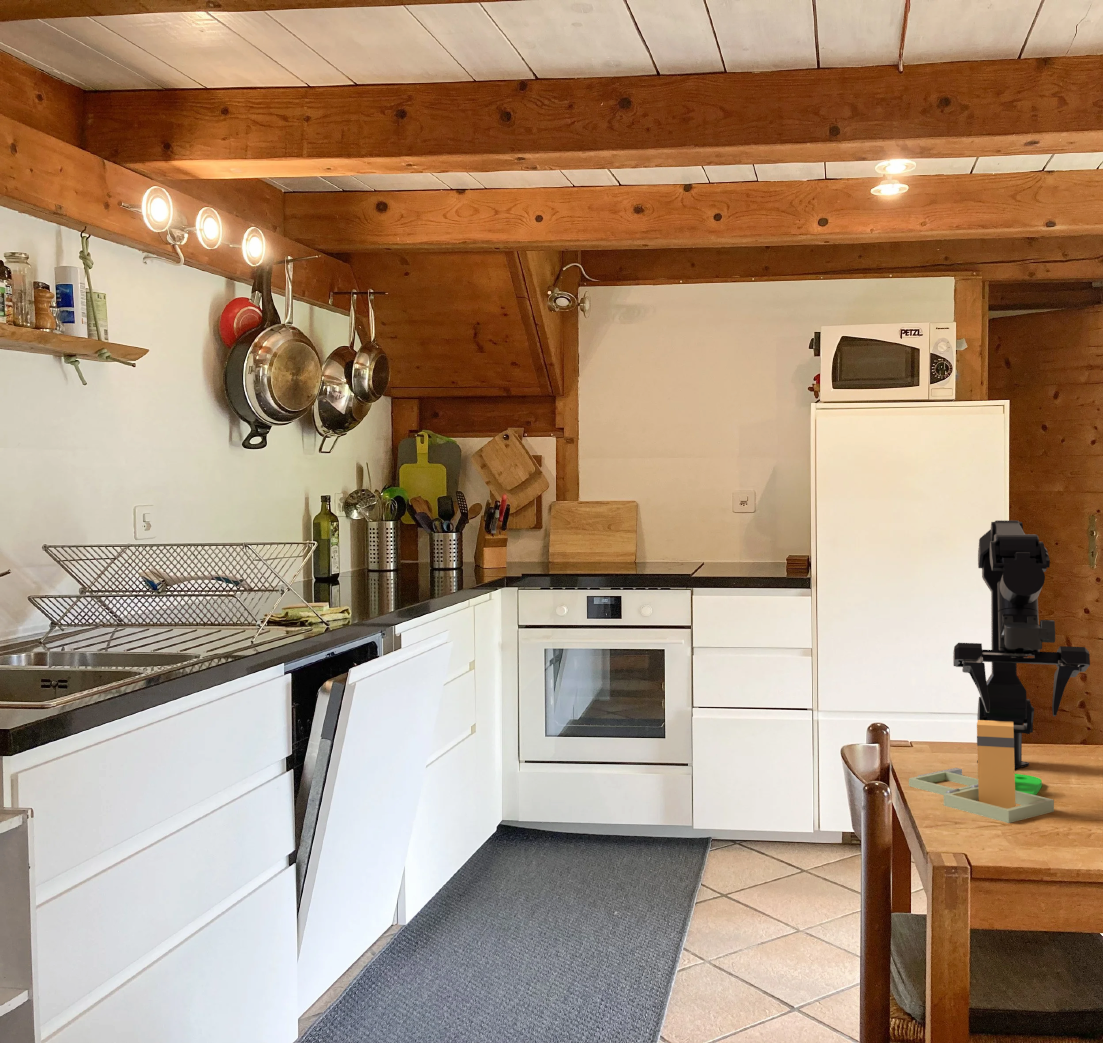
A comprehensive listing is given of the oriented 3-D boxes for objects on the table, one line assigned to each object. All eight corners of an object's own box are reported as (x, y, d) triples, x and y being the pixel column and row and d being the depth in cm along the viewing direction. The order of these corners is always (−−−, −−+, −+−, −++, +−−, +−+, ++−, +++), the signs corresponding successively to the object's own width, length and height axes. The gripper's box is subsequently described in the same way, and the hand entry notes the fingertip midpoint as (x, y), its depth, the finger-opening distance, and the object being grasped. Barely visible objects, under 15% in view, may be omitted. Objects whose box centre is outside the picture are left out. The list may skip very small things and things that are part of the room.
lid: (944, 783, 180) (944, 771, 180) (992, 795, 173) (992, 782, 172) (908, 790, 175) (908, 778, 175) (956, 803, 168) (956, 790, 168)
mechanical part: (1032, 806, 167) (1032, 754, 167) (991, 800, 170) (991, 750, 170) (1044, 789, 177) (1044, 740, 177) (1005, 784, 180) (1005, 736, 180)
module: (979, 805, 164) (977, 720, 164) (1015, 808, 162) (1013, 721, 162) (978, 812, 161) (976, 724, 161) (1015, 815, 159) (1013, 726, 159)
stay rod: (956, 774, 186) (956, 767, 186) (962, 776, 185) (962, 769, 185) (917, 782, 180) (917, 775, 180) (923, 784, 179) (923, 777, 179)
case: (985, 799, 170) (985, 781, 170) (1053, 816, 160) (1053, 798, 160) (940, 809, 164) (940, 791, 164) (1008, 828, 154) (1008, 809, 154)
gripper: (955, 598, 162) (956, 701, 157) (1093, 601, 156) (1098, 709, 151) (952, 615, 172) (953, 713, 167) (1082, 619, 166) (1086, 720, 162)
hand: (1021, 714), depth 162 cm, fingers open, 9 cm apart
